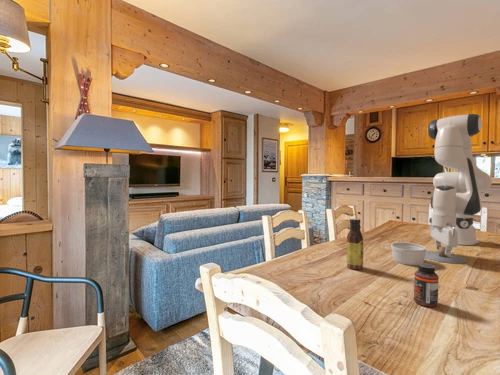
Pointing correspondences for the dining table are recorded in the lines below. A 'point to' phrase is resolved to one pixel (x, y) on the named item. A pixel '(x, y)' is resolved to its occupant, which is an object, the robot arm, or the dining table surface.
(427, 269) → the supplement bottle
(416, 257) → the ramekin
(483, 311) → the dining table surface
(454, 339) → the dining table surface
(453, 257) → the lid
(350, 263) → the sauce bottle
